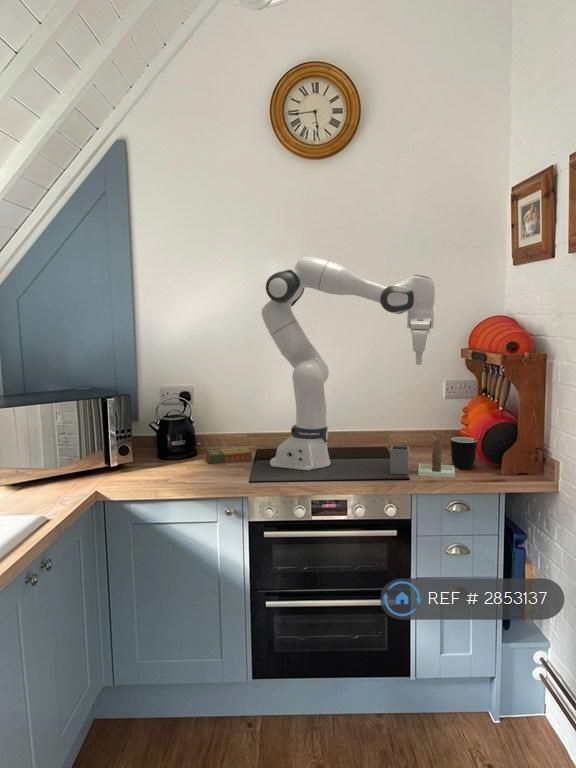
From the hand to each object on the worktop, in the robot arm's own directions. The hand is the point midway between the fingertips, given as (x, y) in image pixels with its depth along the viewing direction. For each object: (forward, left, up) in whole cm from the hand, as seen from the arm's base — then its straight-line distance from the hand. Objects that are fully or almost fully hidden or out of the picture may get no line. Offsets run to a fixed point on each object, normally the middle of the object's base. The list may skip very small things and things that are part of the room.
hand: (418, 363), depth 207 cm
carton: (-70, +2, -39) cm, 80 cm away
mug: (+16, +10, -38) cm, 43 cm away
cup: (-6, -4, -38) cm, 39 cm away
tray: (+7, -3, -38) cm, 39 cm away
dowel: (+7, -3, -38) cm, 38 cm away
